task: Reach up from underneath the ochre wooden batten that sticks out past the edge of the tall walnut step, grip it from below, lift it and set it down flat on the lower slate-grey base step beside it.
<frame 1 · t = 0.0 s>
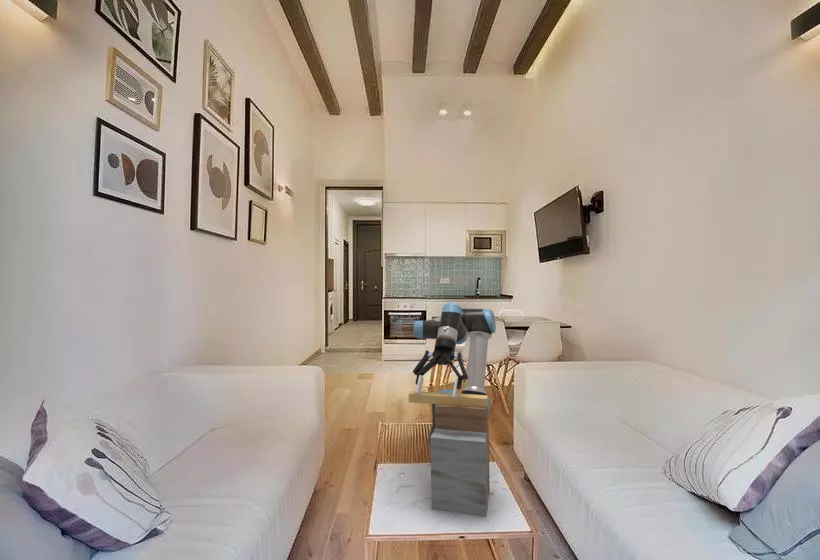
hand: (435, 395, 140), 36 cm above the table, tool tilted 35°, fingers open, 13 cm apart
stepped stand: (461, 499, 139), on the table
ochre batten: (447, 403, 144), point 32 cm above the table, touching stepped stand
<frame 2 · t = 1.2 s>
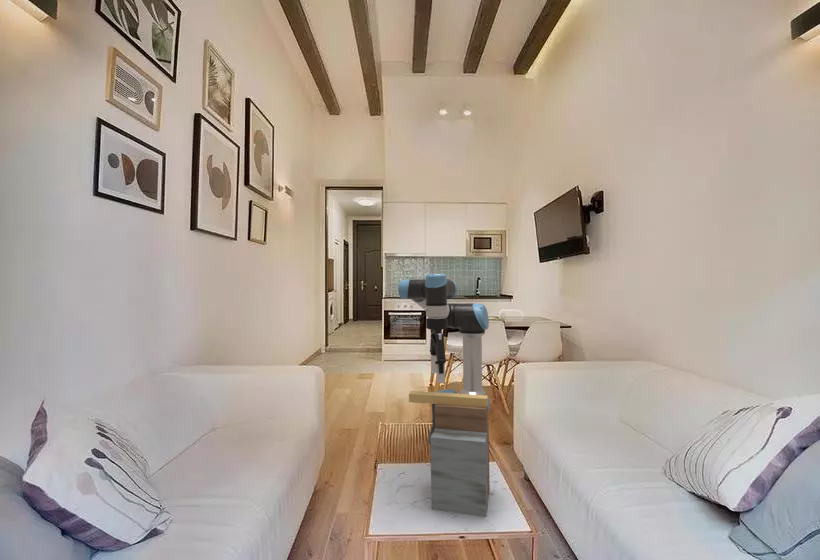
hand: (437, 377, 141), 42 cm above the table, tool pointing down, fingers open, 13 cm apart
nothing on the table moved.
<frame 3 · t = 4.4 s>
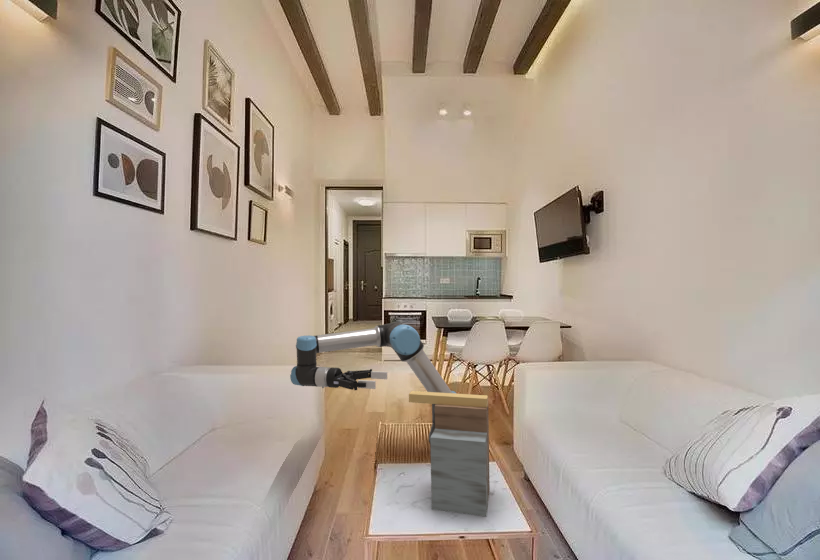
hand: (381, 380, 150), 39 cm above the table, tool horizontal, fingers open, 13 cm apart
nothing on the table moved.
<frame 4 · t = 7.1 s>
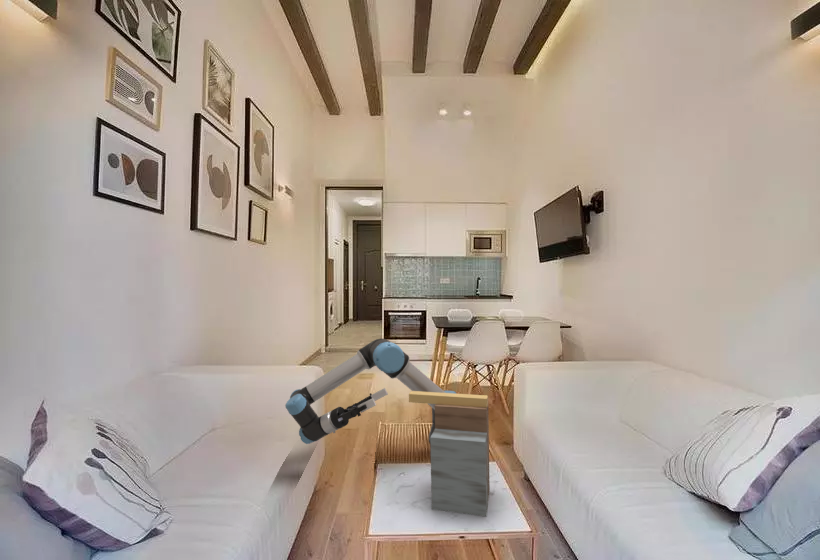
hand: (380, 396, 151), 33 cm above the table, tool pointing upward, fingers open, 13 cm apart
nothing on the table moved.
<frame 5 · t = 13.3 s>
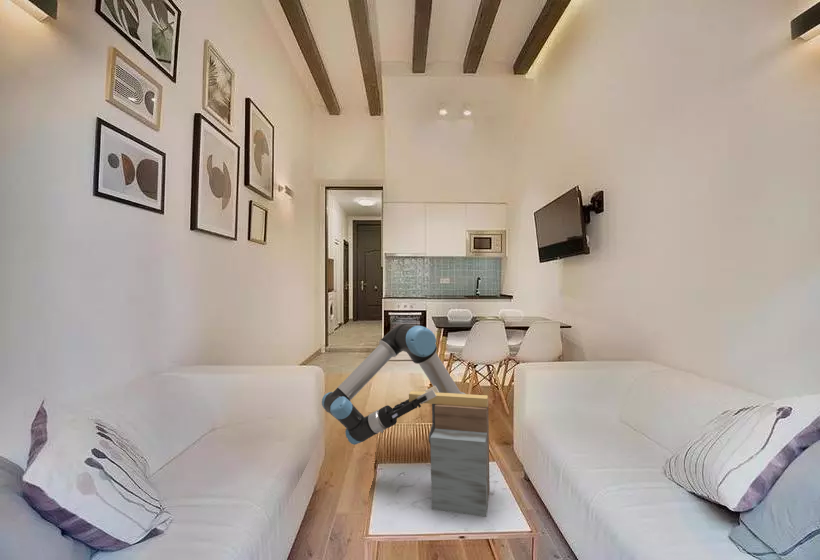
hand: (435, 390, 145), 36 cm above the table, tool pointing upward, fingers closed on ochre batten, 4 cm apart
ochre batten: (448, 403, 144), point 32 cm above the table, touching gripper, stepped stand
everything else where it was.
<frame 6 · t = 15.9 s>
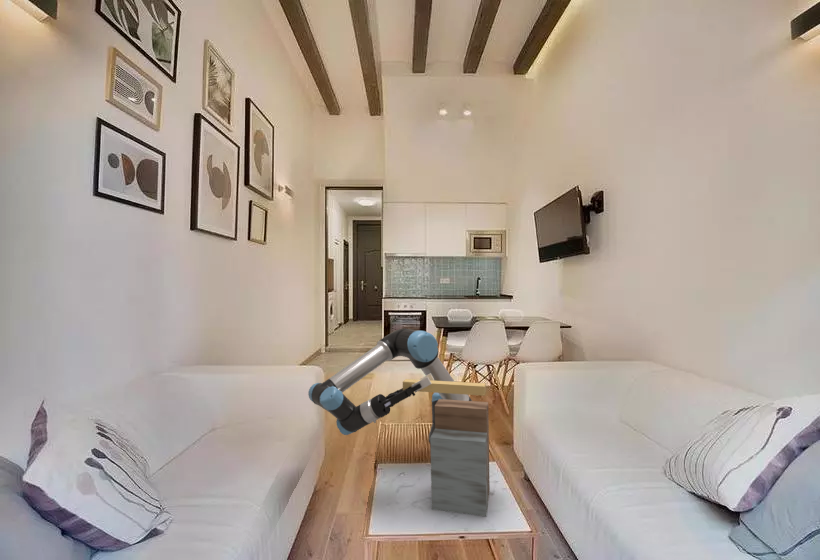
hand: (430, 378, 138), 42 cm above the table, tool pointing upward, fingers closed on ochre batten, 4 cm apart
ochre batten: (443, 391, 137), point 38 cm above the table, touching gripper
everything else where it was.
when the fingers open (30 cm above the table, at t = 18.7 s): ochre batten drops 2 cm, resting on stepped stand.
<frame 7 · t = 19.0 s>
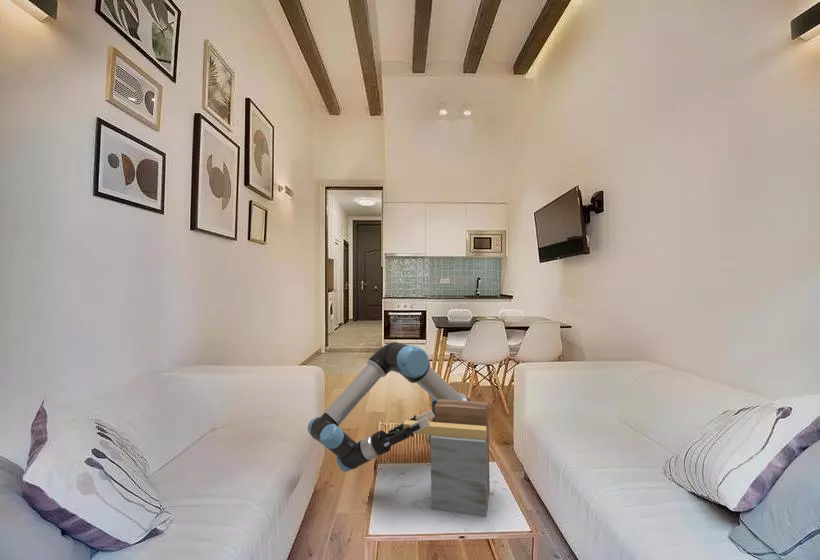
hand: (430, 417, 137), 29 cm above the table, tool pointing upward, fingers open, 7 cm apart
ochre batten: (444, 433, 136), point 24 cm above the table, touching stepped stand
everything else where it was.
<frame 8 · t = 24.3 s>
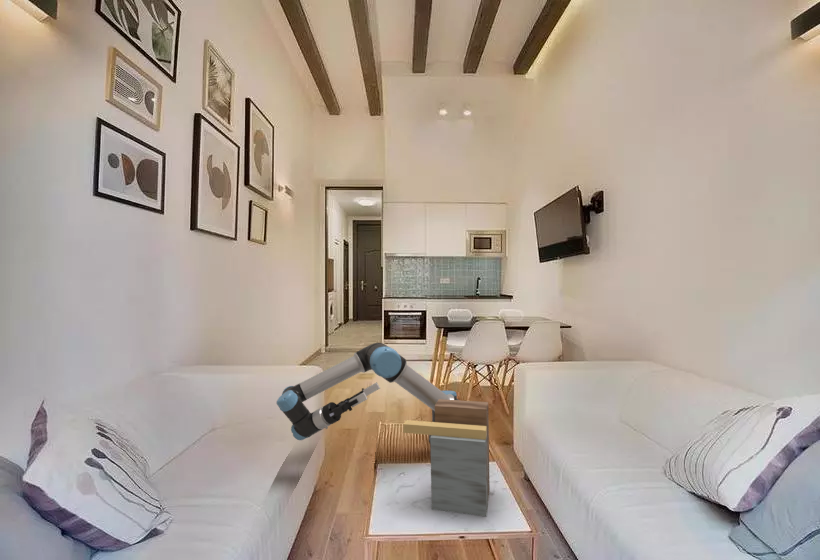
hand: (372, 390, 149), 36 cm above the table, tool pointing upward, fingers open, 13 cm apart
nothing on the table moved.
at the end: ochre batten inside the target area (0.1 cm from its centre), point 24.0 cm above the table; ochre batten tilted 0°; the gripper is holding nothing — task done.
